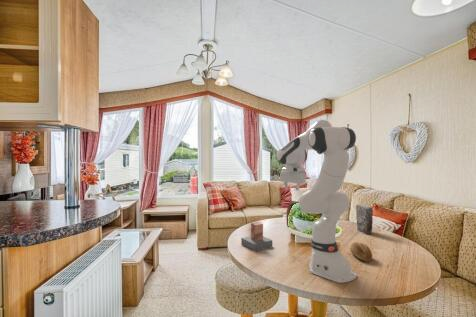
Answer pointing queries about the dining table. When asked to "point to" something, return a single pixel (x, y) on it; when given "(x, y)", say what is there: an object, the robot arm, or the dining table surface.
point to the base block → (256, 243)
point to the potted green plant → (290, 209)
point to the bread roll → (361, 251)
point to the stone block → (364, 218)
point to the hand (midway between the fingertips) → (291, 189)
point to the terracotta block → (256, 231)
